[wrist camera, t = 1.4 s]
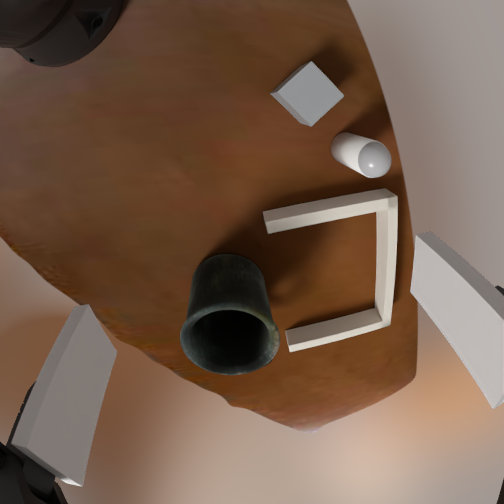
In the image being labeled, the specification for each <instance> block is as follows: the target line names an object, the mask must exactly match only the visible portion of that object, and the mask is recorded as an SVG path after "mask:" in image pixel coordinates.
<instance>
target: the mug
mask: <svg viewBox="0 0 504 504" xmlns="http://www.w3.org/2000/svg"><path fill="white" fill-rule="evenodd" d="M180 342H181V346H182V349H183V351H184V353H185V354H186V356H187V357H188V358H189V359H190V360H191V361H192V362H193V363H194V364H196V365H197V366H199V367H201V368H202V369H204V370H207V371H209V372H213V373H216V374H222V375H240V374H246V373H249V372H253V371H255V370H258V369H260V368H261V367H263V366H266V365H267V364H269V363H270V362H271V361H272V359H273V357H274V356H275V355H276V353H277V351H278V349H279V345H280V334H279V330H278V328H277V326H276V324H275V323H274V321H273V319H272V315H271V310H270V305H269V300H268V296H267V291H266V286H265V281H264V277H263V275H262V273H261V271H260V269H259V268H258V267H257V266H256V265H255V264H254V263H253V262H252V261H250V260H248V259H247V258H244V257H242V256H238V255H234V254H221V255H216V256H213V257H210V258H209V259H207V260H205V261H204V262H202V263H201V264H200V265H199V266H198V267H197V269H196V271H195V272H194V275H193V278H192V284H191V291H190V297H189V304H188V311H187V318H186V322H185V323H184V324H183V327H182V329H181V333H180Z"/></svg>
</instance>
